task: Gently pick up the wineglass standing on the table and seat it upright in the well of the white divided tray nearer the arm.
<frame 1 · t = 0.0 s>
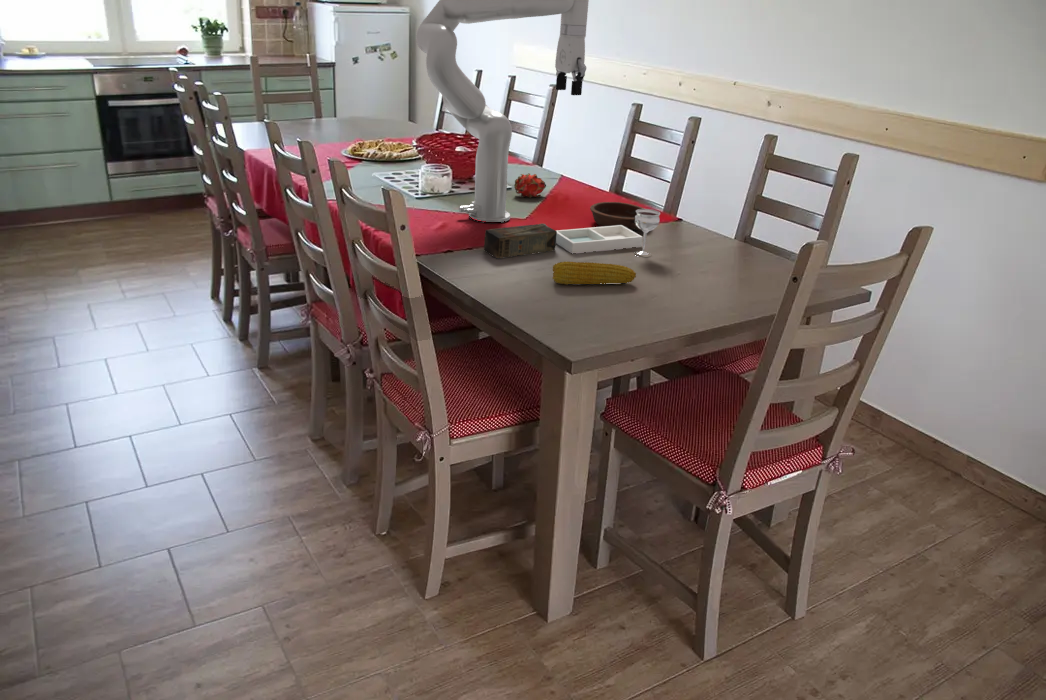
hand: (568, 92, 247), 37 cm above the table, tool pointing down, fingers open, 9 cm apart
white divided tray: (597, 243, 236), on the table
food: (592, 285, 207), on the table
dragon fruit: (529, 196, 279), on the table
beverage carton: (519, 252, 227), on the table
dish: (617, 225, 255), on the table
wineglass: (642, 255, 230), on the table
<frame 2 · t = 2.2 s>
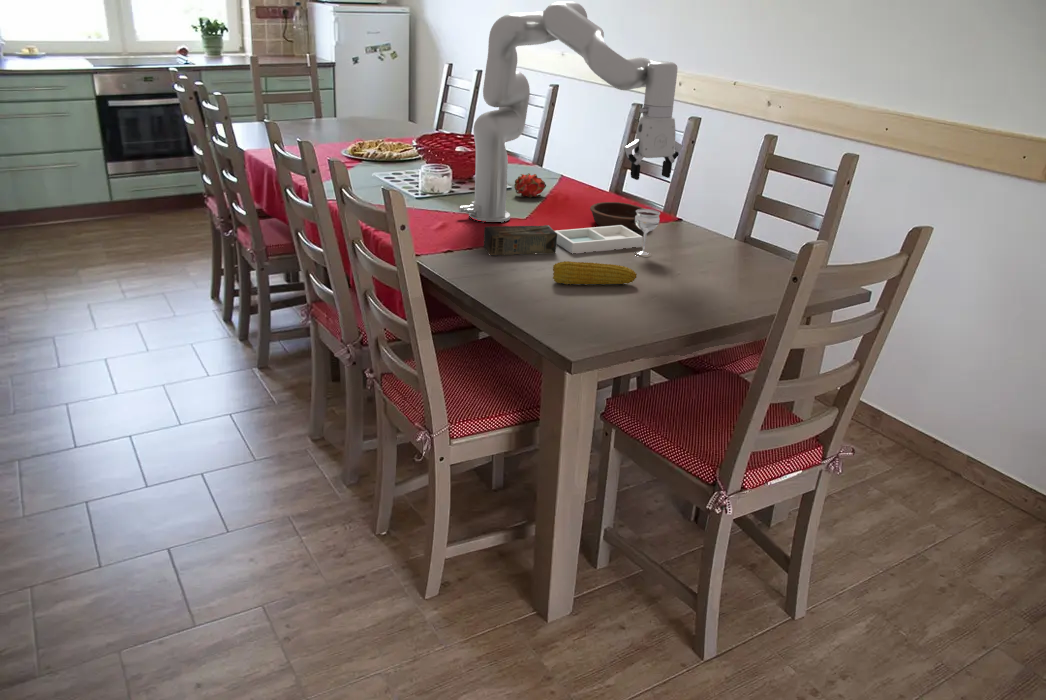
hand: (650, 177, 221), 21 cm above the table, tool pointing down, fingers open, 9 cm apart
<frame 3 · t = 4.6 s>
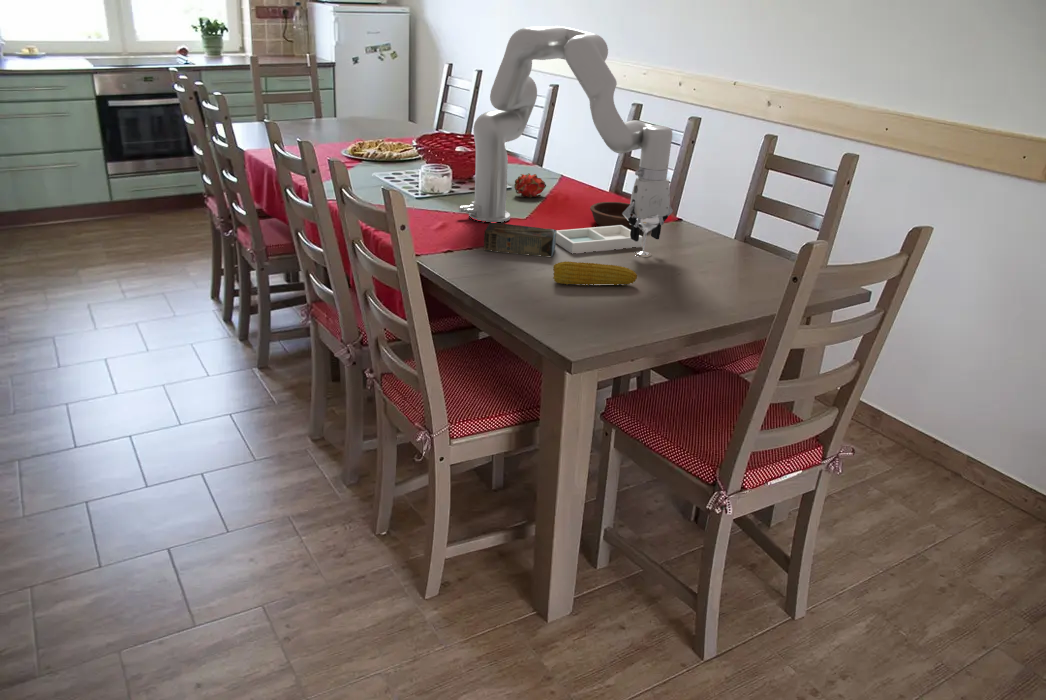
hand: (644, 238, 228), 5 cm above the table, tool pointing down, fingers closed on wineglass, 6 cm apart
wineglass: (642, 255, 230), on the table, touching gripper
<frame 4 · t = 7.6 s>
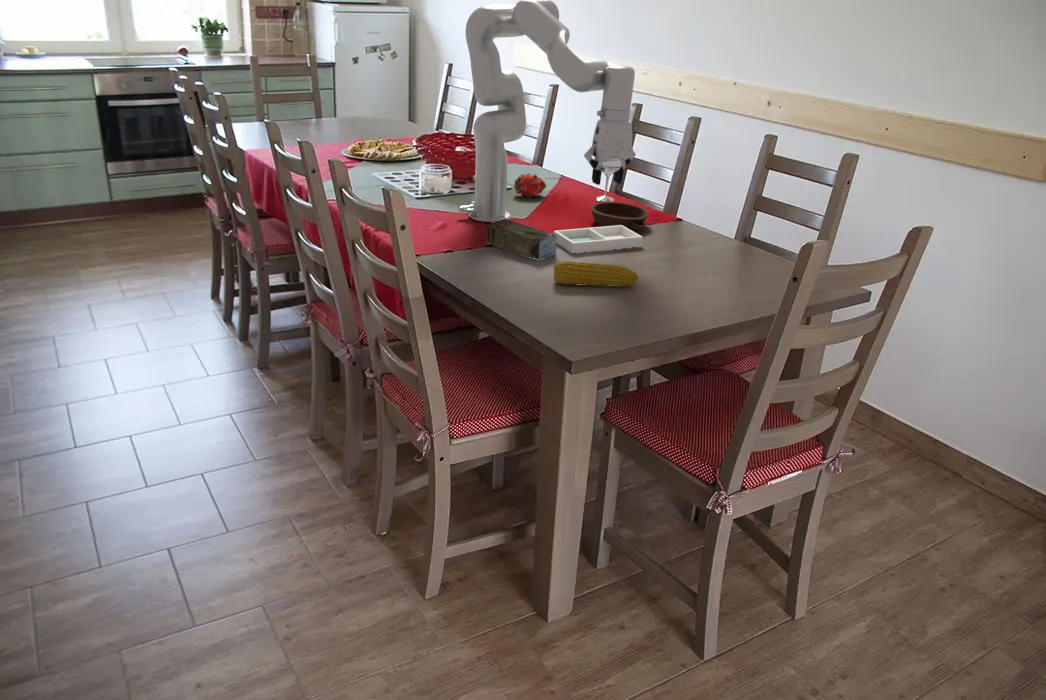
hand: (606, 182, 224), 19 cm above the table, tool pointing down, fingers closed on wineglass, 6 cm apart
wineglass: (604, 199, 227), point 14 cm above the table, touching gripper
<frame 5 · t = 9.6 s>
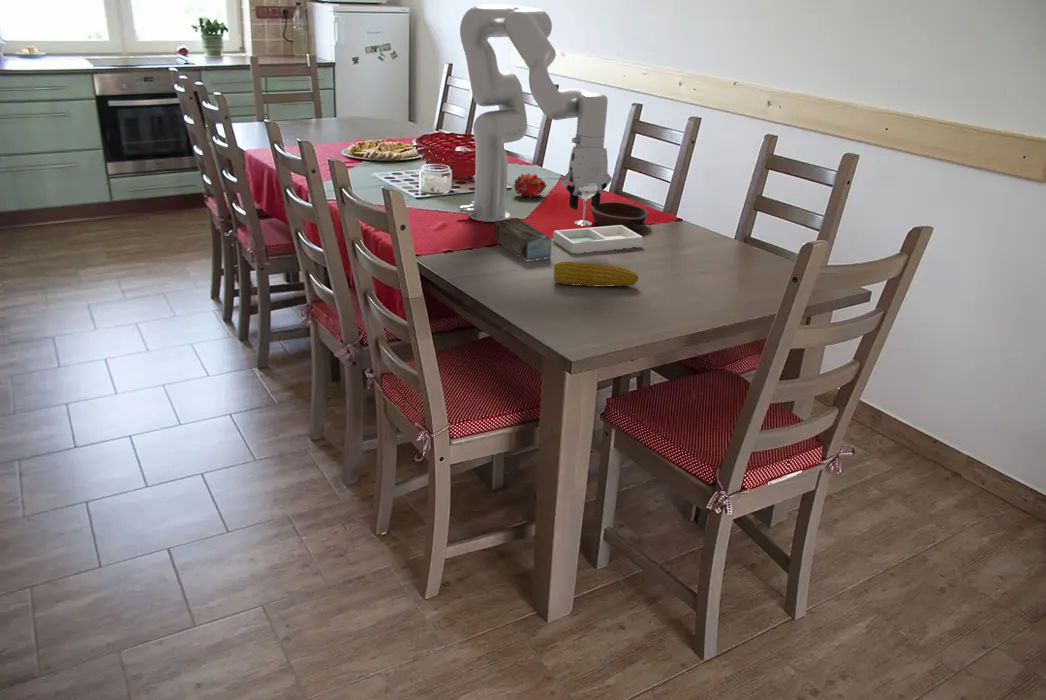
hand: (584, 206, 229), 11 cm above the table, tool pointing down, fingers closed on wineglass, 6 cm apart
wineglass: (583, 223, 231), point 6 cm above the table, touching gripper
when the fingers open (7 cm above the table, at t = 10.9 s): wineglass drops 1 cm, resting on white divided tray.
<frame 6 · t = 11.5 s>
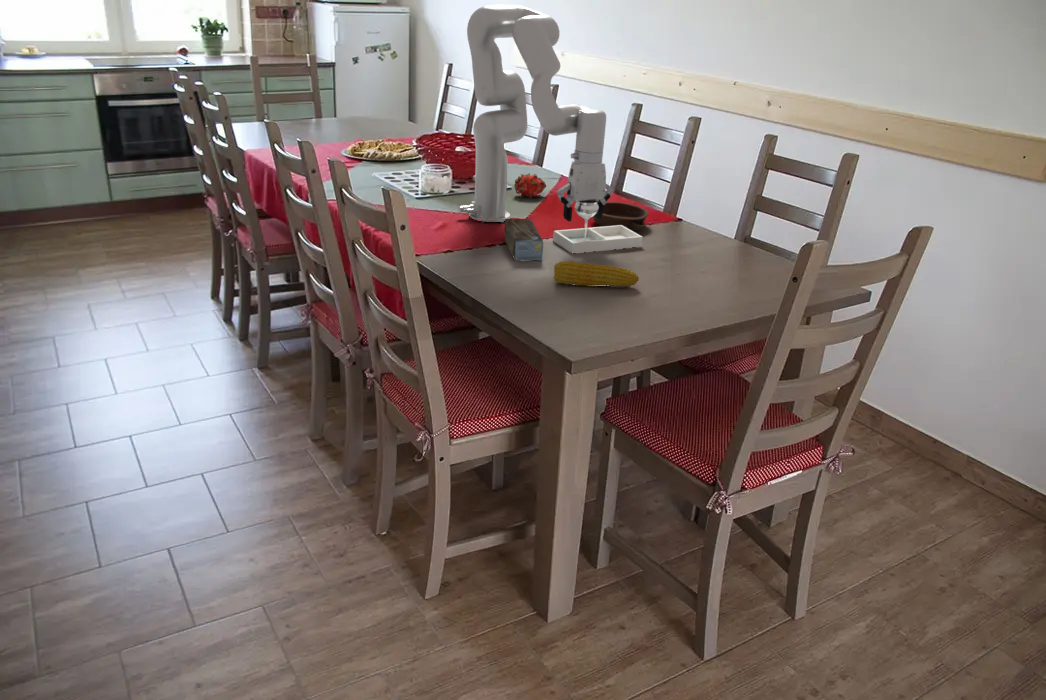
hand: (582, 218, 230), 8 cm above the table, tool pointing down, fingers open, 9 cm apart
wineglass: (585, 241, 234), point 1 cm above the table, touching white divided tray, gripper
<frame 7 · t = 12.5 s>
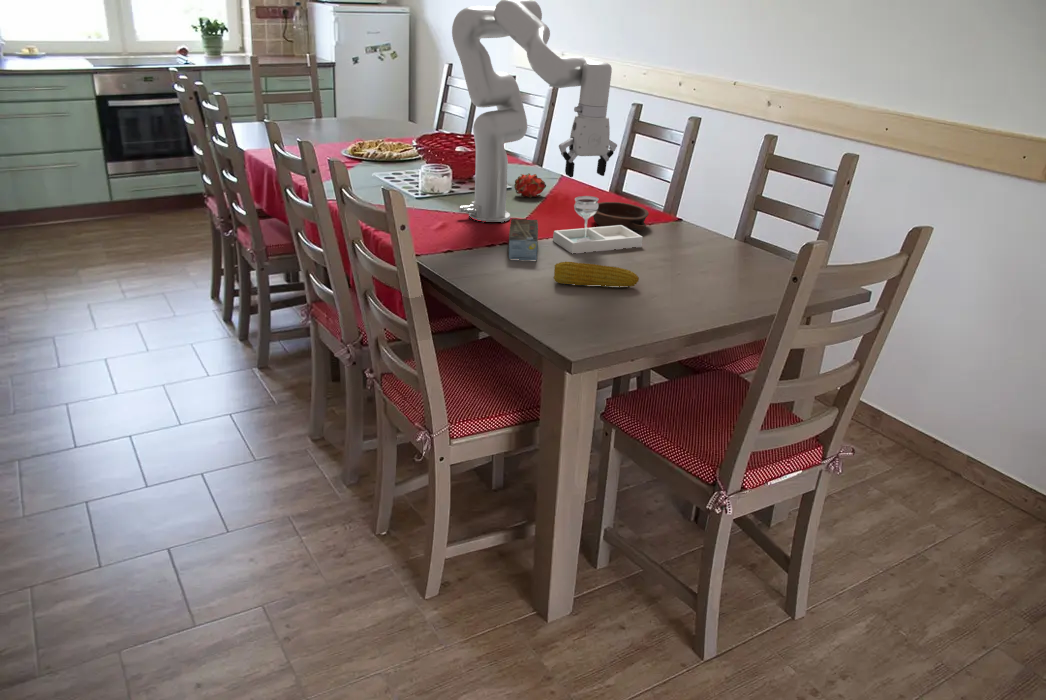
hand: (584, 175, 225), 20 cm above the table, tool pointing down, fingers open, 9 cm apart
wineglass: (585, 241, 234), point 1 cm above the table, touching white divided tray
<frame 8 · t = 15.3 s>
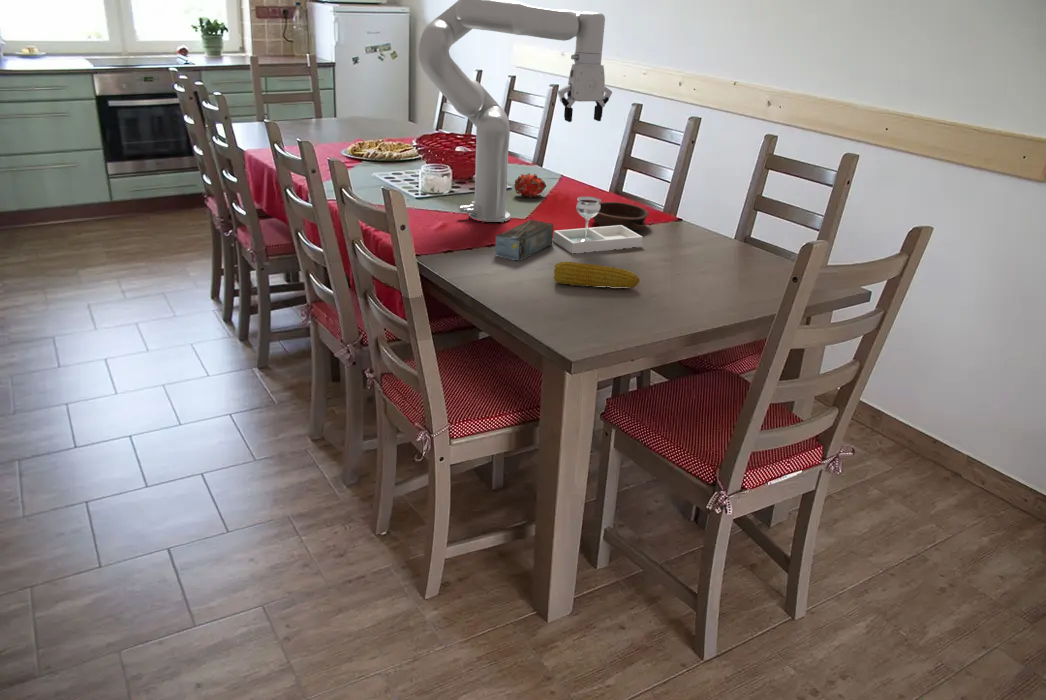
hand: (582, 120, 242), 30 cm above the table, tool pointing down, fingers open, 9 cm apart
at the end: wineglass 1.6 cm from the target spot on the white divided tray, point 0.8 cm above the white divided tray's base; wineglass tilted 0°; the gripper is holding nothing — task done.
